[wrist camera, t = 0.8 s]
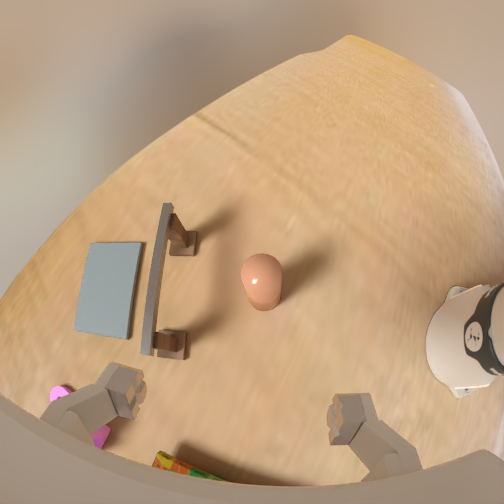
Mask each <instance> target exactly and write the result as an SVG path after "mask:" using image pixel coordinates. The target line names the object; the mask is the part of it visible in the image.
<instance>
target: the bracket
mask: <svg viewBox="0 0 504 504" xmlns="http://www.w3.org/2000/svg"><path fill="white" fill-rule="evenodd" d="M70 393H72V392H71V391H70V390H69V389H68V388H67V387H64V386H55V387H54V388H53V389H52V390H51V393H50V403H51V402H52V401H53V400H56V399H58V398H61V397H63V396H65V395H67V394H70ZM110 431H111V428H109V427H108V426H107V425H106V424H105V425H104V426H102V427H101V428H99V429H98V430H96V431H95V432H93V433H92V434H90V436H91V438H92V440H93V441H94V443H95V445H96V446H95V447H97V448H100V449H101V448H102V446H103V444H104V442H105V441H106V439H107V437H108V435H109V433H110Z"/></svg>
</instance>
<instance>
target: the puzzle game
mask: <svg viewBox="0 0 504 504" xmlns="http://www.w3.org/2000/svg"><path fill="white" fill-rule="evenodd" d="M152 467H156V468H159V469H163V470H167V471H171V472H175V473H179V474H184V475H188V476H193V477H199V478H204V479H210V480H216V481H223V482H228V481H226V480H223V479H221V478H218V477H216V476H214V475H211V474H209V473H207V472H204V471H202V470H200V469H198V468H195V467H193V466H191V465H189V464H187V463H184V462H182V461H180V460H178V459H176V458H174V457H172V456H170V455H169V454H167V453H165V452H162V451H159V452H158V453H157V456H156V458H155V460H154V462H153V465H152Z"/></svg>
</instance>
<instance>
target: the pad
mask: <svg viewBox="0 0 504 504" xmlns="http://www.w3.org/2000/svg"><path fill="white" fill-rule="evenodd" d="M142 246H143V244H142V243H91V244H90V248H89V252H88V256H87V260H86V264H85V269H84V274H83V278H82V283H81V288H80V294H79V299H78V305H77V312H76V318H75V326H74V330H76V331H81V332H86V333H91V334H97V335H102V336H108V337H114V338H120V339H127V340H129V331H130V322H131V314H132V306H133V299H134V292H135V285H136V279H137V273H138V267H139V262H140V256H141V251H142Z"/></svg>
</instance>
